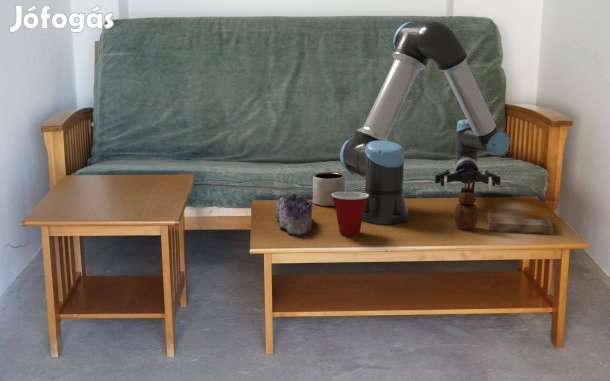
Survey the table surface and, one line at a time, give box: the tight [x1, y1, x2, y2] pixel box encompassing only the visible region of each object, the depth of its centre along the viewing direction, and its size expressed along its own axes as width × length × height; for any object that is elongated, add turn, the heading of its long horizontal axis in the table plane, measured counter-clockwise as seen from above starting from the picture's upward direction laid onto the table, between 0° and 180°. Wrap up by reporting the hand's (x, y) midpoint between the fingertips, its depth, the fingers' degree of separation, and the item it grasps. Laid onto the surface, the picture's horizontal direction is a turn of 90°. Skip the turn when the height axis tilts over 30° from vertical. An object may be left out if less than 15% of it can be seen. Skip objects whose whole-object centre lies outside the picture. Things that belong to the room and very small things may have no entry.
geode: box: [275, 194, 314, 237], centre depth 209 cm, size 20×12×10 cm, turn 9°
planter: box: [312, 171, 346, 207], centre depth 235 cm, size 11×11×10 cm
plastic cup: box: [332, 191, 369, 237], centre depth 201 cm, size 11×11×12 cm
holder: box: [486, 210, 554, 235], centre depth 208 cm, size 18×13×2 cm
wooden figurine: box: [453, 179, 479, 231], centre depth 204 cm, size 7×6×15 cm
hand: (467, 185), depth 214 cm, fingers open, 13 cm apart
